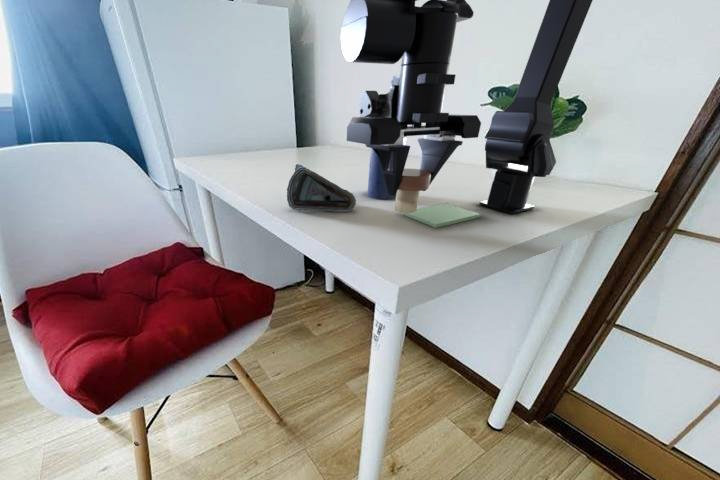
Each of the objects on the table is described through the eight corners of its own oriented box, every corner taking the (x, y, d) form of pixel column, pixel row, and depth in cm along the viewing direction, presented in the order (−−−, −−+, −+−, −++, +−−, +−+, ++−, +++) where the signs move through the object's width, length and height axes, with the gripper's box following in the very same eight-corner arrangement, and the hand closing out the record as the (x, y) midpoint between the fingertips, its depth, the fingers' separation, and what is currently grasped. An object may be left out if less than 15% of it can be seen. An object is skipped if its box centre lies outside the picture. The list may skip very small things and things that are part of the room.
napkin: (445, 206, 55) (446, 203, 55) (479, 217, 50) (480, 214, 49) (403, 214, 51) (403, 211, 51) (435, 228, 46) (436, 224, 45)
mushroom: (406, 202, 49) (411, 167, 47) (433, 211, 45) (439, 173, 42) (378, 207, 47) (382, 170, 44) (403, 218, 43) (409, 177, 40)
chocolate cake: (359, 202, 59) (317, 154, 58) (360, 202, 52) (312, 147, 51) (322, 235, 60) (281, 190, 60) (319, 239, 54) (272, 188, 53)
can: (385, 189, 66) (391, 134, 61) (406, 196, 61) (414, 137, 56) (360, 193, 63) (364, 135, 58) (380, 201, 58) (386, 139, 53)
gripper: (430, 73, 47) (415, 176, 55) (325, 68, 40) (325, 188, 47) (496, 67, 39) (468, 189, 46) (379, 58, 31) (368, 207, 38)
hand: (407, 192), depth 45 cm, fingers closed on mushroom, 5 cm apart
